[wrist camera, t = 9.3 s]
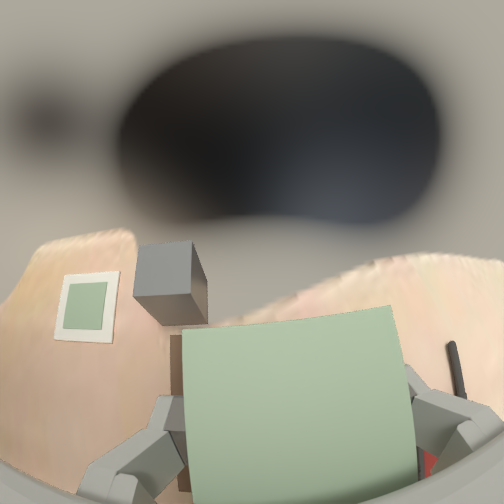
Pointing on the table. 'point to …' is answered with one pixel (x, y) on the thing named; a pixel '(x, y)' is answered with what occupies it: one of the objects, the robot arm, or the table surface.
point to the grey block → (171, 283)
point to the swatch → (87, 307)
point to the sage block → (298, 411)
